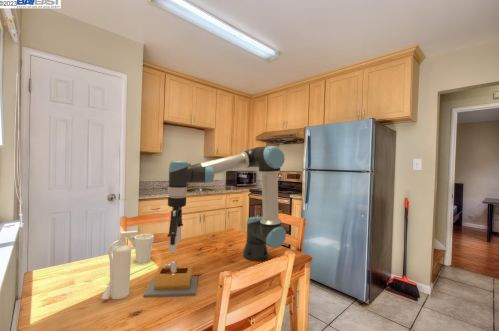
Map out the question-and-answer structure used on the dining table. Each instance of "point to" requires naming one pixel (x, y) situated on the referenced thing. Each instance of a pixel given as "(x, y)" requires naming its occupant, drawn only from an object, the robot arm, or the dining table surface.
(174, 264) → the hook
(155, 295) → the keeper plate
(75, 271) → the dining table surface
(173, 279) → the framed display niche
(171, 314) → the dining table surface
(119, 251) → the fire extinguisher
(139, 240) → the foam cup
